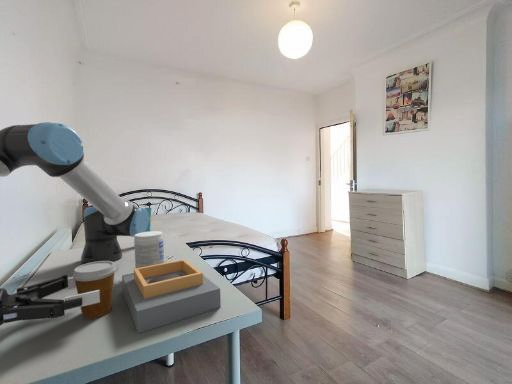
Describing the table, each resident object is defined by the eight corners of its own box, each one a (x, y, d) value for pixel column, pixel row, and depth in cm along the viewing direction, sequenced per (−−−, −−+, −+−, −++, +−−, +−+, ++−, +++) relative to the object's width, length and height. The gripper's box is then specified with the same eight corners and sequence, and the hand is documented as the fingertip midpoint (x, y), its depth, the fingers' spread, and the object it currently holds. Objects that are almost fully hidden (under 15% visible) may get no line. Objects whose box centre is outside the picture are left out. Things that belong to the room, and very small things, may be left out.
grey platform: (121, 286, 82) (119, 262, 81) (183, 273, 93) (182, 251, 93) (138, 333, 57) (136, 297, 57) (220, 307, 68) (219, 277, 68)
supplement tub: (167, 275, 91) (166, 234, 90) (138, 281, 86) (136, 237, 85) (160, 267, 99) (159, 229, 98) (133, 273, 94) (131, 233, 93)
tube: (136, 246, 131) (134, 208, 130) (138, 244, 136) (137, 207, 135) (152, 245, 133) (150, 208, 132) (153, 243, 138) (152, 207, 137)
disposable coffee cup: (70, 326, 60) (67, 275, 59) (79, 307, 69) (76, 263, 68) (116, 317, 64) (114, 269, 63) (119, 300, 73) (117, 258, 72)
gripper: (-3, 304, 65) (96, 284, 77) (-44, 362, 44) (101, 322, 56) (-5, 275, 65) (95, 259, 76) (-47, 320, 44) (100, 288, 55)
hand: (98, 286), depth 66 cm, fingers open, 13 cm apart
